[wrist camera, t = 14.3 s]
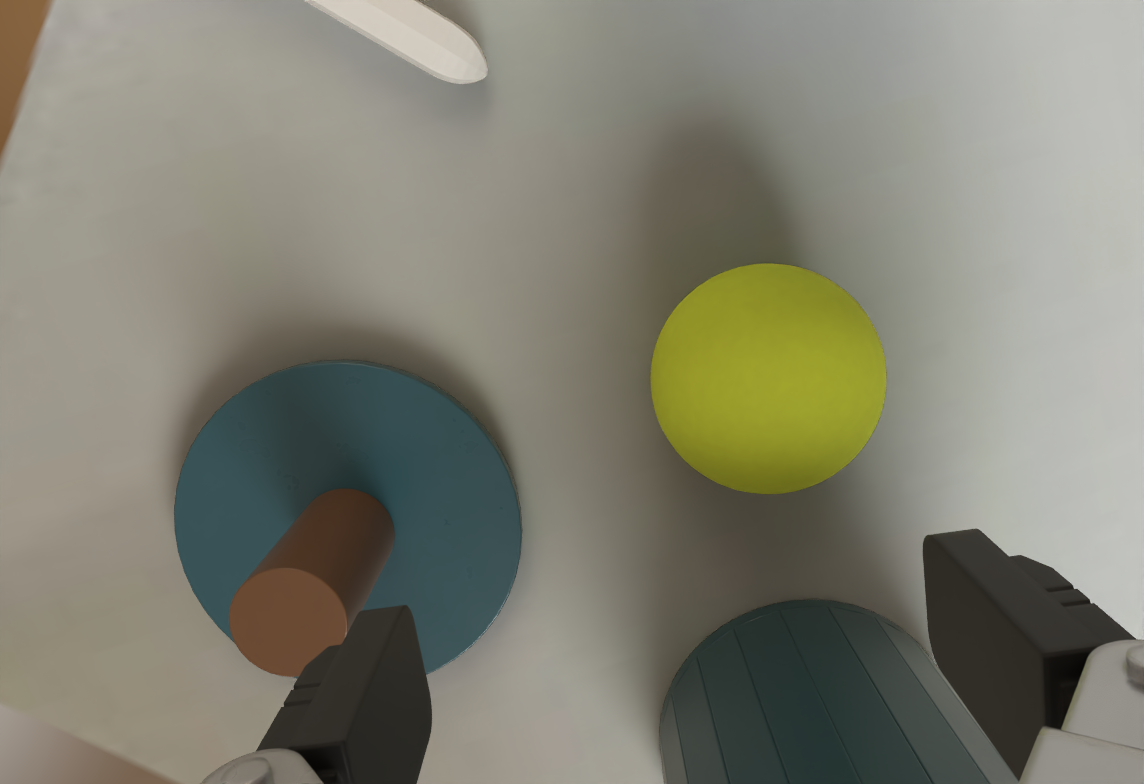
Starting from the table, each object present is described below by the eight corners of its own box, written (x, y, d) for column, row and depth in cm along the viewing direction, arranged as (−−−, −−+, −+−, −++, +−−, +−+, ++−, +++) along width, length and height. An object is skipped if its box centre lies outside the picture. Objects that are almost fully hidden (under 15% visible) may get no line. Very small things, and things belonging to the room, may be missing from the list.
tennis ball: (713, 215, 27) (755, 224, 21) (887, 322, 28) (977, 362, 22) (604, 392, 28) (612, 450, 22) (772, 490, 29) (826, 573, 23)
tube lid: (281, 290, 28) (182, 325, 21) (585, 465, 29) (589, 553, 22) (133, 573, 30) (-1, 691, 23) (422, 724, 31) (378, 879, 24)
